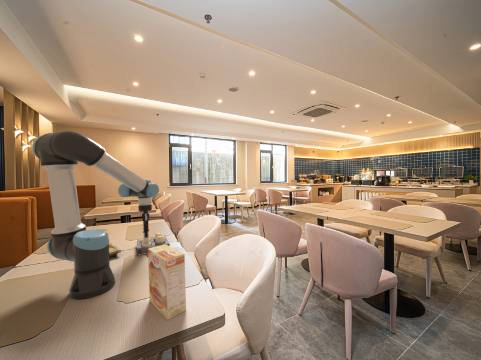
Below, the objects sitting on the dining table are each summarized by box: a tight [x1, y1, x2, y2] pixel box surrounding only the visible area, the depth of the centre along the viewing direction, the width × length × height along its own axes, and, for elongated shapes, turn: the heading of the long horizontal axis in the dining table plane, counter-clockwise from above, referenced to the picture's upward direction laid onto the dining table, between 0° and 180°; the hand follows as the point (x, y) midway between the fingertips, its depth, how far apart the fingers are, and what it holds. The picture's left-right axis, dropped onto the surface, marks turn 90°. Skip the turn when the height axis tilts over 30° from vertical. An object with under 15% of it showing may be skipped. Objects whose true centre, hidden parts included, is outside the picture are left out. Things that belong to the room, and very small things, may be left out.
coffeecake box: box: [147, 244, 187, 321], centre depth 71 cm, size 15×7×20 cm, turn 45°
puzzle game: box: [109, 242, 122, 258], centre depth 120 cm, size 12×5×20 cm
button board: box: [136, 235, 171, 256], centre depth 131 cm, size 18×18×4 cm
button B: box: [142, 242, 151, 247], centre depth 125 cm, size 5×5×4 cm
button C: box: [154, 232, 164, 241], centre depth 136 cm, size 5×5×4 cm
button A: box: [156, 235, 164, 245], centre depth 129 cm, size 5×5×4 cm
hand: (146, 242), depth 125 cm, fingers closed
